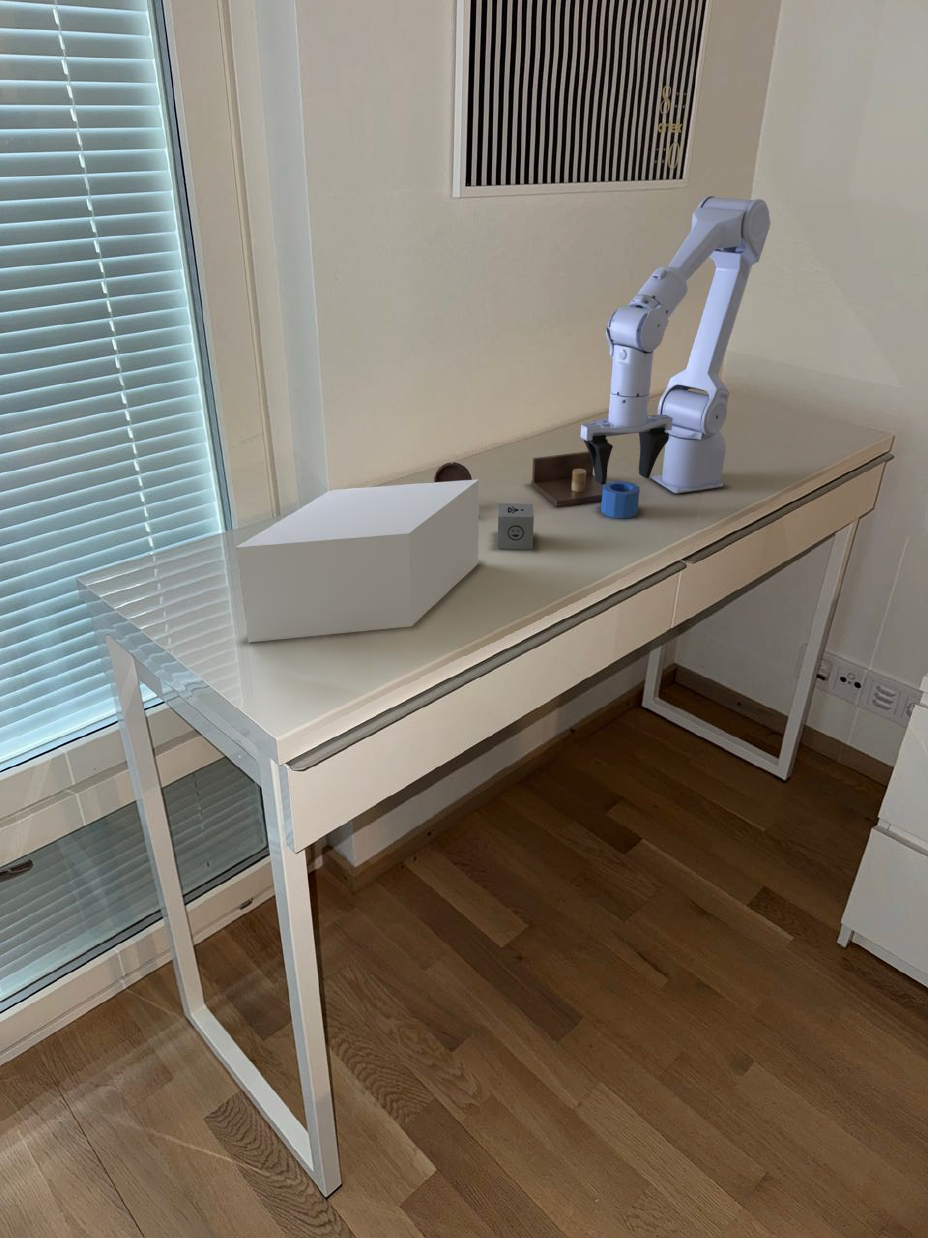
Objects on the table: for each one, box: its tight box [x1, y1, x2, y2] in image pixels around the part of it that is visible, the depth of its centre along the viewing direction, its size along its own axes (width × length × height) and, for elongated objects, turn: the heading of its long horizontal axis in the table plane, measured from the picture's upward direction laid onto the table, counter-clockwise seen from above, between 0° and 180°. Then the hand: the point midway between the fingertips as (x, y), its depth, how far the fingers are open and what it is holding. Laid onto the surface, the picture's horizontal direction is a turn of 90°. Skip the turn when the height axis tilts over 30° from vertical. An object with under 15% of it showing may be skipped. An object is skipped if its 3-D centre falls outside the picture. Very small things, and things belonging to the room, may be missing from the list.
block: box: [235, 479, 480, 643], centre depth 114 cm, size 18×35×12 cm, turn 128°
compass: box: [433, 461, 473, 483], centre depth 140 cm, size 8×8×7 cm
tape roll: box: [600, 480, 640, 519], centre depth 142 cm, size 6×6×4 cm
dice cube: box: [497, 502, 535, 550], centre depth 132 cm, size 5×5×5 cm
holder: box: [530, 450, 603, 508], centre depth 149 cm, size 11×10×5 cm
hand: (622, 479), depth 141 cm, fingers open, 7 cm apart
